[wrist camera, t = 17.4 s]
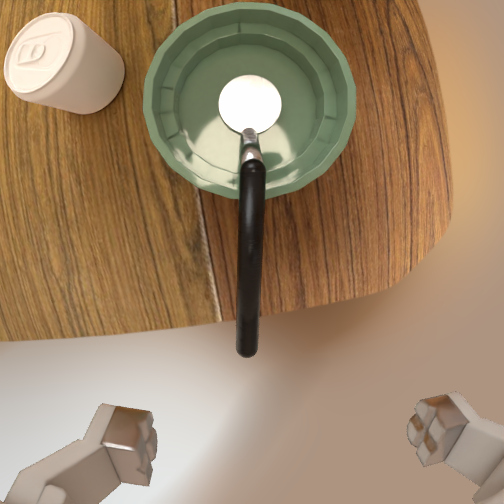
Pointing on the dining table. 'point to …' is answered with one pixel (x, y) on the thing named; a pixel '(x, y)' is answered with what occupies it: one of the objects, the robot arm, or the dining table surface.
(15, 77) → the beverage can
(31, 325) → the dining table surface
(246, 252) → the black and silver ladle
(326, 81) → the bowl
